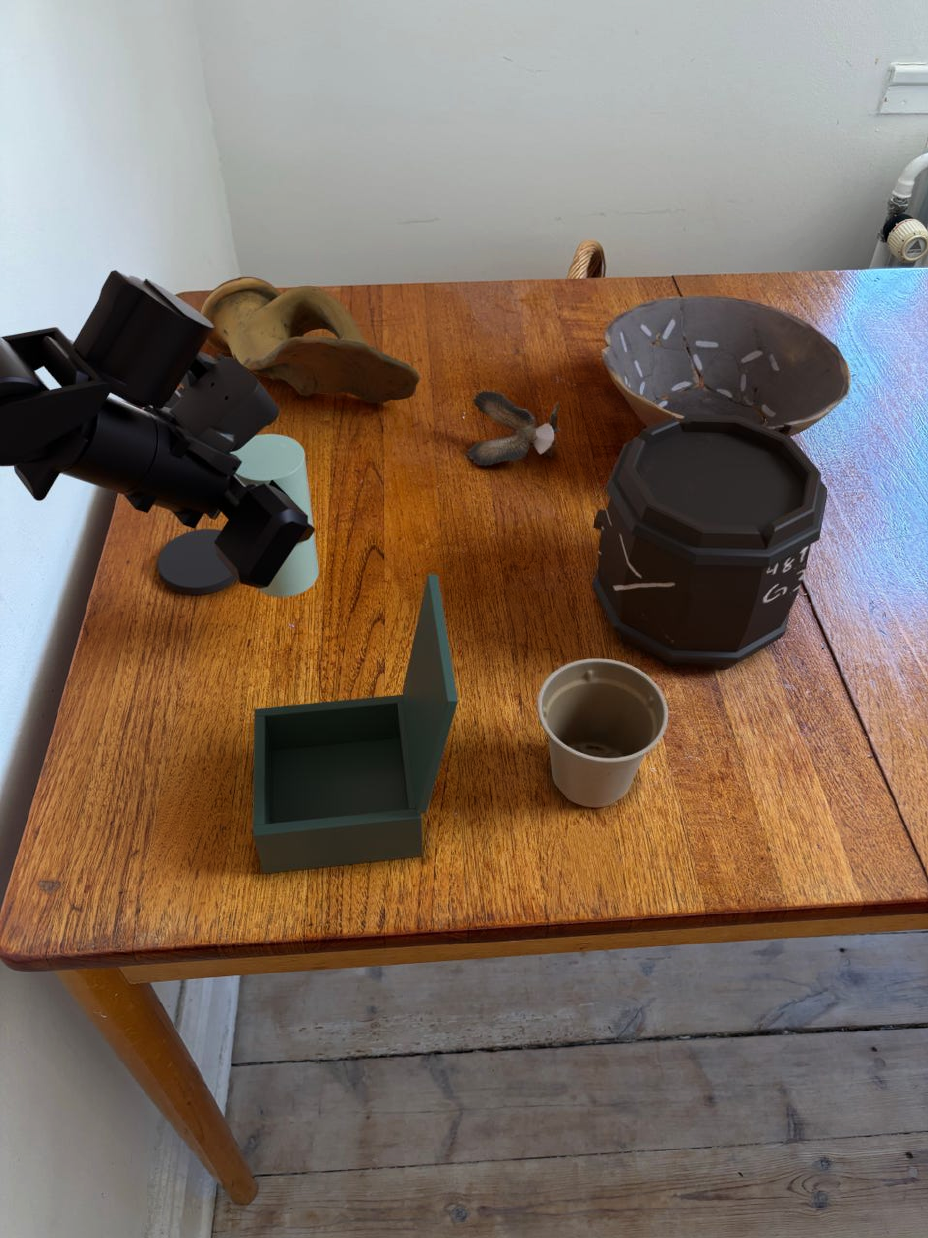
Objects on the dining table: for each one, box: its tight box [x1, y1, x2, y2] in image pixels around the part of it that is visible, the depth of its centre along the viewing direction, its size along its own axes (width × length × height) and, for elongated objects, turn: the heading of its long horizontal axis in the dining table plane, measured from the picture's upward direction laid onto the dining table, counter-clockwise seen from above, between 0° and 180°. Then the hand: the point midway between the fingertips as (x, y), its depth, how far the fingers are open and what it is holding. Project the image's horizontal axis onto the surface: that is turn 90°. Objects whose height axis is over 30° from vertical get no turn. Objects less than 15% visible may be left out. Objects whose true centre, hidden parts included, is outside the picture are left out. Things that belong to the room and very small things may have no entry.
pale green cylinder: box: [230, 433, 320, 598], centre depth 79 cm, size 6×6×12 cm
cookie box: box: [252, 694, 424, 875], centre depth 75 cm, size 12×11×5 cm
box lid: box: [401, 573, 459, 815], centre depth 69 cm, size 12×11×1 cm
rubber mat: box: [157, 528, 238, 596], centre depth 94 cm, size 8×8×1 cm
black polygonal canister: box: [591, 414, 828, 671], centre depth 86 cm, size 18×18×16 cm
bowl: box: [601, 295, 852, 438], centre depth 106 cm, size 25×25×10 cm
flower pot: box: [536, 658, 669, 808], centre depth 76 cm, size 9×9×9 cm
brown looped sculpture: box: [200, 276, 421, 404], centre depth 110 cm, size 18×13×22 cm
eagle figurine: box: [467, 390, 562, 467], centre depth 105 cm, size 8×7×9 cm
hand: (291, 513), depth 80 cm, fingers closed on pale green cylinder, 5 cm apart
